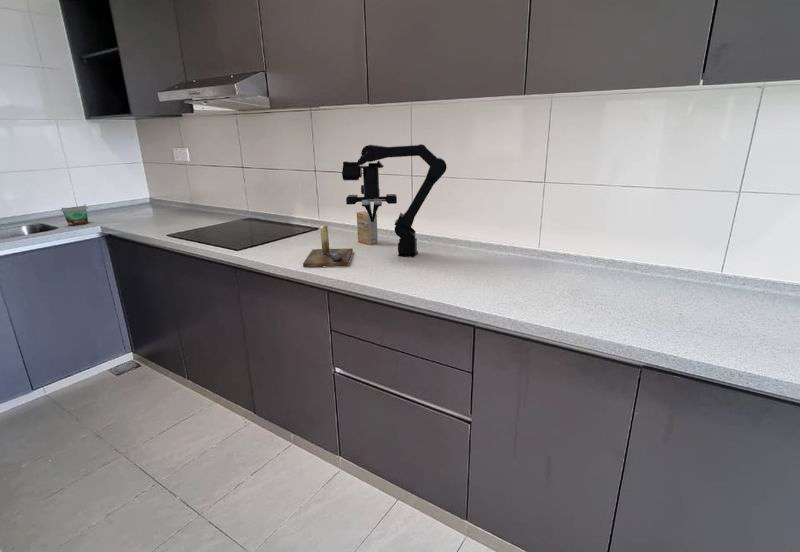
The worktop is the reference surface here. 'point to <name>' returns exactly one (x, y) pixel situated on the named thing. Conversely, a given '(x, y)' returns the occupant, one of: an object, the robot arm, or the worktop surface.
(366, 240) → the supplement box
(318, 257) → the dial board
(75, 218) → the food container
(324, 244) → the tuning lever
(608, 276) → the worktop surface
